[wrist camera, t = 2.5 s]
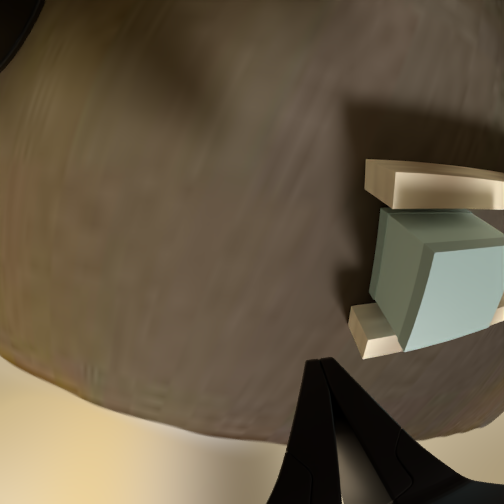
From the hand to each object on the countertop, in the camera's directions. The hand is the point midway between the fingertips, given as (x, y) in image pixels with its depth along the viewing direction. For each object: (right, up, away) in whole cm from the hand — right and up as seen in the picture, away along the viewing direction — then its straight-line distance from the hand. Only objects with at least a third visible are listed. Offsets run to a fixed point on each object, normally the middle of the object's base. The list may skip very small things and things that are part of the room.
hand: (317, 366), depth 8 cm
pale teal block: (+8, +4, +6) cm, 11 cm away
